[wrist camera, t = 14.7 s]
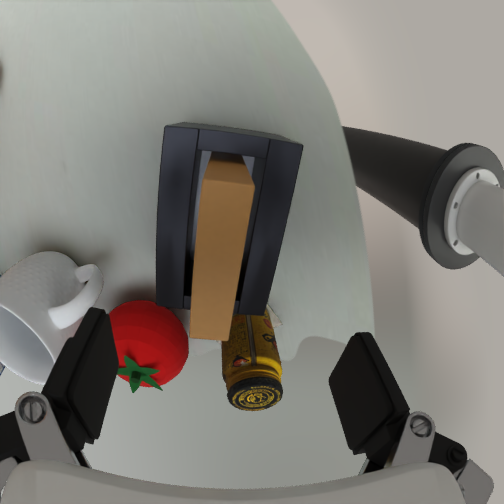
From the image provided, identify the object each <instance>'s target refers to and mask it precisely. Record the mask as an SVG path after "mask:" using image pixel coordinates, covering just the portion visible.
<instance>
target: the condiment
mask: <svg viewBox="0 0 504 504" xmlns="http://www.w3.org/2000/svg"><path fill="white" fill-rule="evenodd" d="M279 325H282V323H281V321H280V320H279V319H278V317H277V316H276V315H275V313H274V312H273V311H272V309H271V308H270V307H269V306H268V304H267V306H266V310H265V314H264V316H255V315H241V314H238V313H237V314H233V315H232V321H231V327H230V333H229V339H228V341H220V340H216V341H218V343H220V344H221V345H222V375H223V379H224V381H225V383H226V387H227V391H228V393H227V397H228V400H229V402H230V403H231V404H232V405H233V406H234V407H236V408H238V409H241V410H246V411H258V410H264V409H267V408H269V407H271V406H273V405H275V404H276V403H277V402H278V401H280V400H281V398H282V394H283V389H282V385H281V378H280V377H281V375H282V367H281V361H280V358H279V353H278V349H277V345H276V340H275V335H274V329H273V328H275V327H277V326H279Z"/></svg>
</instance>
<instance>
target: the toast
mask: <svg viewBox="0 0 504 504" xmlns="http://www.w3.org/2000/svg"><path fill="white" fill-rule="evenodd" d="M254 190H255V185H254V183H253V181H252V178H251V176H250V174H249V171H248V169H247V166H246V164H245V162H244V159H243V157H242V155H236V154H228V153H221V152H212V153H211V155H210V158H209V161H208V164H207V167H206V170H205V173H204V176H203V179H202V186H201V194H200V203H199V212H198V222H197V232H196V243H195V254H194V266H193V280H192V295H191V312H190V332H189V337H190V338H197V339H208V340H220V341H228V339H229V333H230V327H231V321H232V315H233V309H234V304H235V298H236V292H237V286H238V280H239V275H240V269H241V263H242V257H243V252H244V246H245V240H246V235H247V229H248V223H249V218H250V212H251V207H252V201H253V196H254Z"/></svg>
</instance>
